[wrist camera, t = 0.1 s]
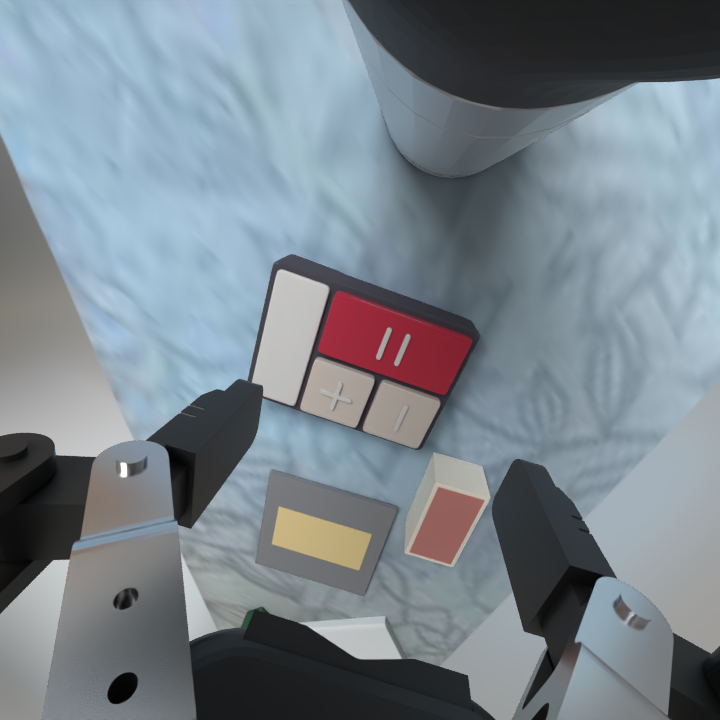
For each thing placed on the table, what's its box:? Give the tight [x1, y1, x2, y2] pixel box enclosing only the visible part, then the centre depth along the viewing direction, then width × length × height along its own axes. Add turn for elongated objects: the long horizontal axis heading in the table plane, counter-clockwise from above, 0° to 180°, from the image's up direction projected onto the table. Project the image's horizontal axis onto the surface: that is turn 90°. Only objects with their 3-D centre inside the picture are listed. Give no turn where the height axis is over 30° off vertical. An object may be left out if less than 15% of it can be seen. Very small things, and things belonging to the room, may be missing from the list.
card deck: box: [405, 452, 491, 568], centre depth 31 cm, size 9×4×4 cm, turn 166°
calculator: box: [248, 254, 480, 450], centre depth 27 cm, size 11×4×15 cm
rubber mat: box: [255, 470, 397, 596], centre depth 37 cm, size 14×13×1 cm
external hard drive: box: [299, 616, 406, 659], centre depth 44 cm, size 2×8×12 cm
